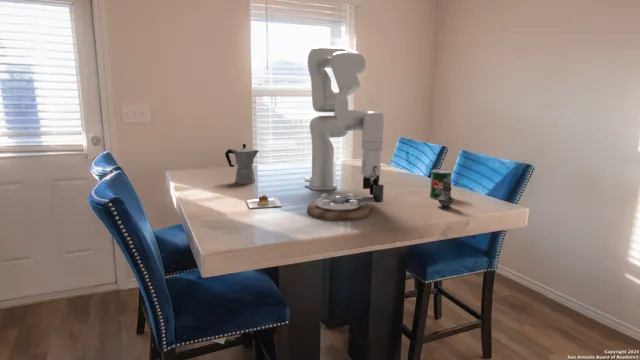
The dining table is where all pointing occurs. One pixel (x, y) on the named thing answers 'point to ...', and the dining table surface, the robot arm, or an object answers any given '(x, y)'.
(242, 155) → the coffeepot
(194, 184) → the dining table surface
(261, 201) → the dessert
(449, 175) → the canned tomato
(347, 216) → the base
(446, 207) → the gray candlestick
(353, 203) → the crank handle
